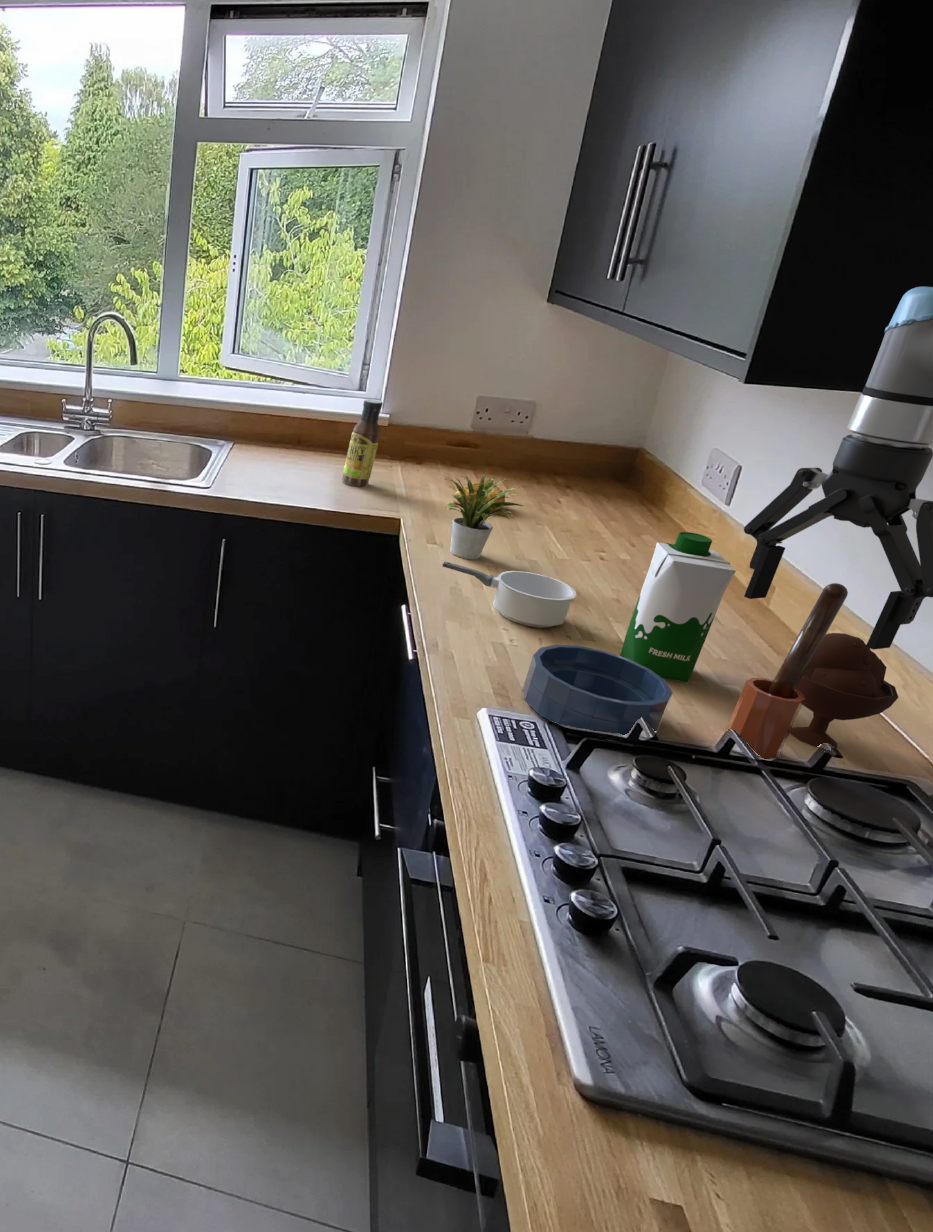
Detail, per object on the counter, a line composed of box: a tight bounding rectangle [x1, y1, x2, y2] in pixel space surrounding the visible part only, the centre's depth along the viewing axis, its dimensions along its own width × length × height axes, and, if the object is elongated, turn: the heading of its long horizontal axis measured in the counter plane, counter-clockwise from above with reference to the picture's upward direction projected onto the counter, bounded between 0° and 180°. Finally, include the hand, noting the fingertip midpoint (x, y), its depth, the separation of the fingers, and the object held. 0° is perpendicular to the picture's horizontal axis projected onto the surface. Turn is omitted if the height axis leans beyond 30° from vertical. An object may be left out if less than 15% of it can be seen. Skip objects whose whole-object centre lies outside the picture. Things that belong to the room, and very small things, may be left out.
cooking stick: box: [767, 582, 849, 699], centre depth 106 cm, size 2×2×22 cm
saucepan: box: [442, 561, 577, 629], centre depth 145 cm, size 12×20×6 cm, turn 58°
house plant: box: [445, 470, 524, 560], centre depth 166 cm, size 14×14×16 cm
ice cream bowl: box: [789, 632, 899, 750], centre depth 111 cm, size 11×11×15 cm
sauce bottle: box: [341, 398, 384, 488], centre depth 206 cm, size 6×6×20 cm
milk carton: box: [620, 531, 737, 684], centre depth 126 cm, size 9×9×20 cm
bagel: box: [451, 481, 506, 512], centre depth 200 cm, size 10×11×5 cm
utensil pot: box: [724, 677, 805, 759], centre depth 108 cm, size 6×6×9 cm
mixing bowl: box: [522, 644, 674, 735], centre depth 115 cm, size 16×16×6 cm
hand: (812, 621), depth 103 cm, fingers open, 13 cm apart
